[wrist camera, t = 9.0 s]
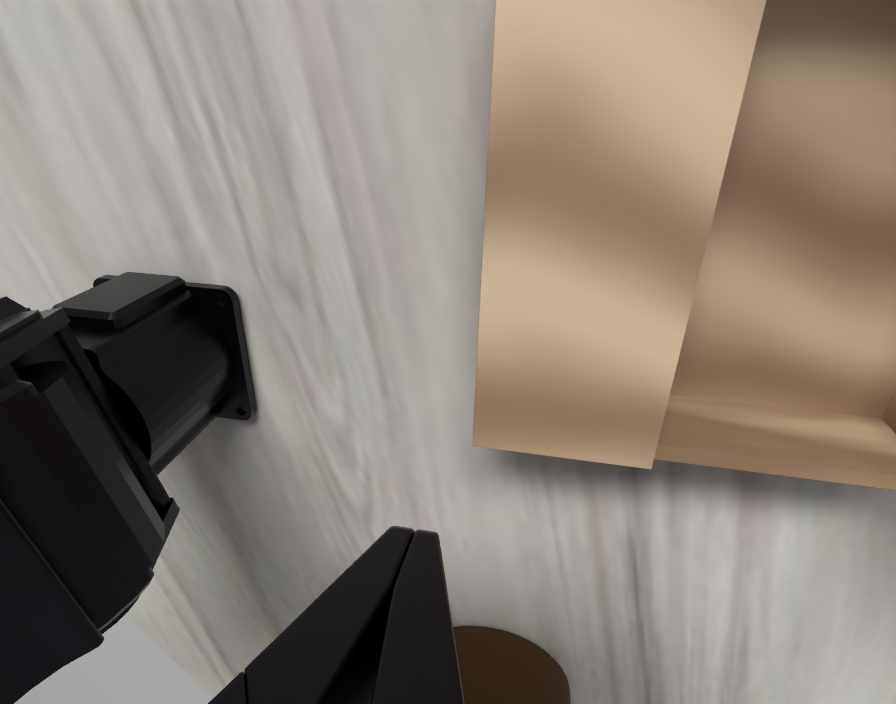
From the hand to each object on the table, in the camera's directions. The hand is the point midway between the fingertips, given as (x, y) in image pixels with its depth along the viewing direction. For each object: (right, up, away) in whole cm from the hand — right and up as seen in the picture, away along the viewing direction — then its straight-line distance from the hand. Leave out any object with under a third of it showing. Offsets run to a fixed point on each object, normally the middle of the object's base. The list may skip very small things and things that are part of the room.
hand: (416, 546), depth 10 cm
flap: (+5, +7, +5) cm, 10 cm away
